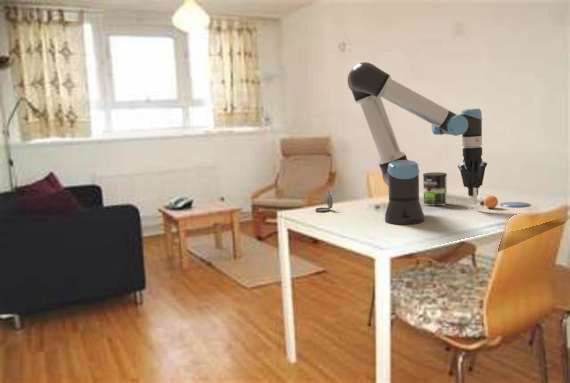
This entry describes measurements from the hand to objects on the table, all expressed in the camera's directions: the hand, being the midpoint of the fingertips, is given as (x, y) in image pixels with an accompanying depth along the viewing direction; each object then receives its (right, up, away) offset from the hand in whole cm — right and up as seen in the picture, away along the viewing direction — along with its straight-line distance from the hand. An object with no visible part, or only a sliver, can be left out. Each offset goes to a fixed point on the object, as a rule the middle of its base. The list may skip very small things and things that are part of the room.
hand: (473, 203), depth 204 cm
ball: (+9, +1, +3) cm, 9 cm away
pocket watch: (-60, -4, +20) cm, 64 cm away
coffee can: (-10, -1, +20) cm, 22 cm away
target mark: (+21, -1, +7) cm, 22 cm away
